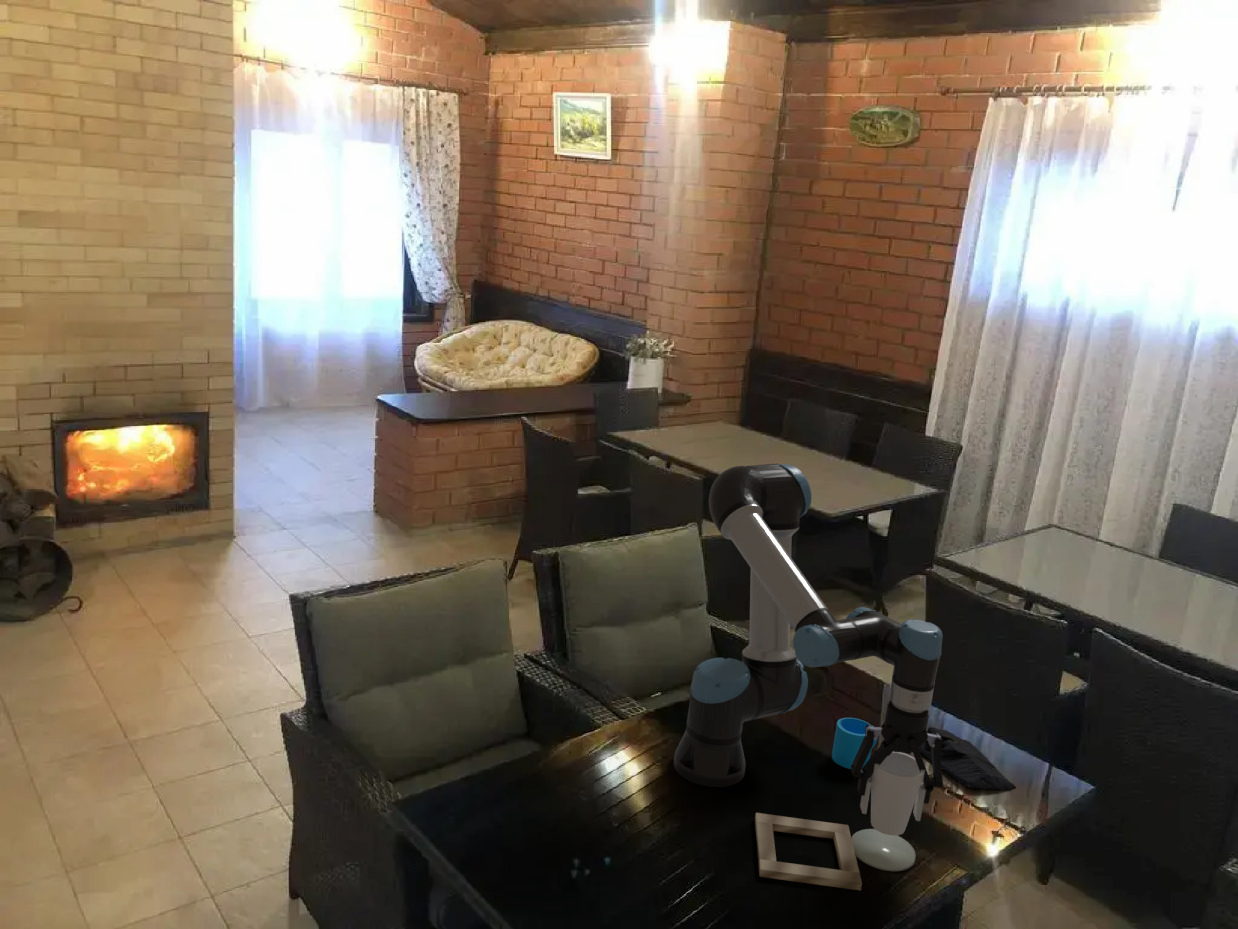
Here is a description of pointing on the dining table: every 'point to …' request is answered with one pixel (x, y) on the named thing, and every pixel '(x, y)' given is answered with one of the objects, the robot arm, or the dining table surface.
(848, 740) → the mug
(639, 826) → the dining table surface
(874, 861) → the pale grey-green round part
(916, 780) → the foam cup
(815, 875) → the birch pocket board
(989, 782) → the black fabric pouch
